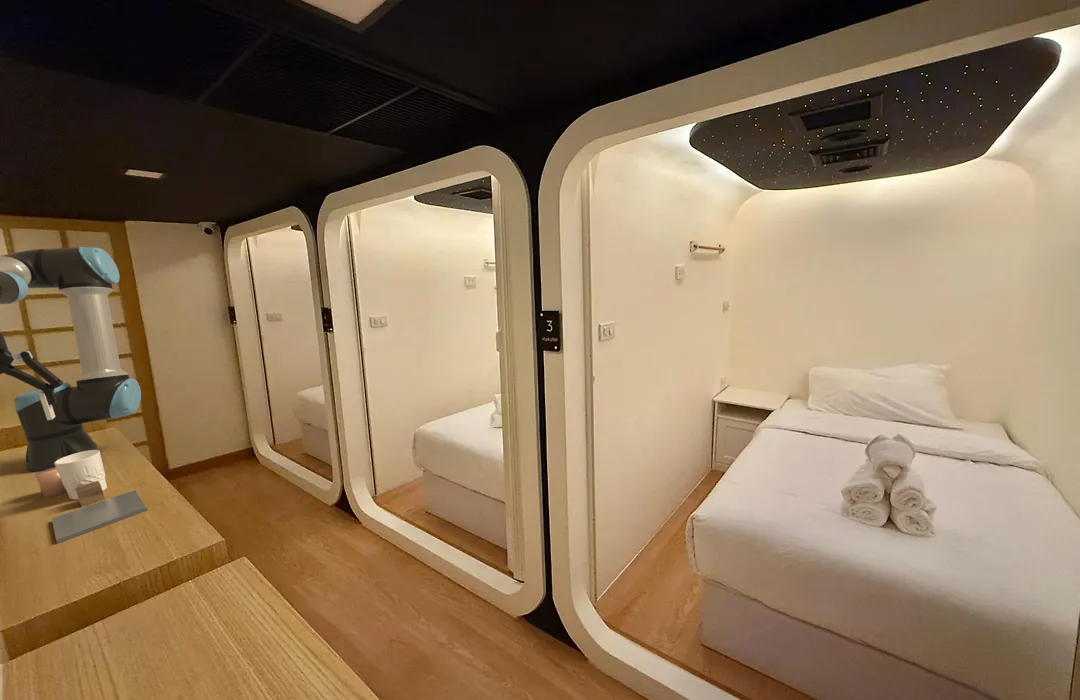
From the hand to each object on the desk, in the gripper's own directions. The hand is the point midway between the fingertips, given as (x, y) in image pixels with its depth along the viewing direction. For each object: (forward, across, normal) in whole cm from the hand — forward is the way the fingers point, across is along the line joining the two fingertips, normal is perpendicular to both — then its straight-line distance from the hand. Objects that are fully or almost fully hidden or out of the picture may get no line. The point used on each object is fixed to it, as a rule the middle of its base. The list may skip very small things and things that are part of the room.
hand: (7, 427), depth 96 cm
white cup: (+22, +8, +5) cm, 24 cm away
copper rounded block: (+22, +1, +12) cm, 25 cm away
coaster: (+22, +13, -14) cm, 29 cm away
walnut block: (+22, +10, -2) cm, 24 cm away
